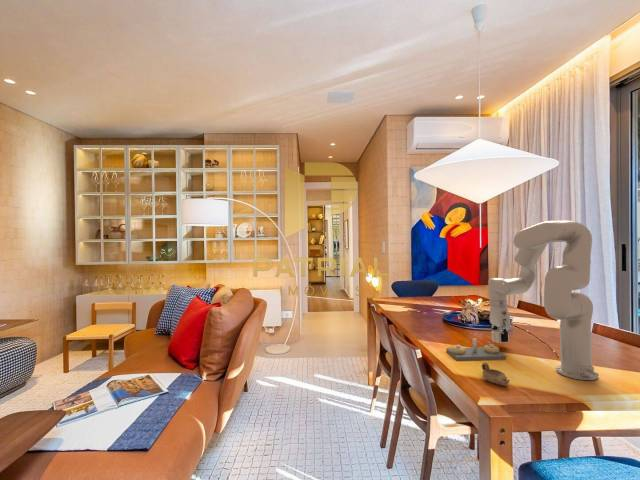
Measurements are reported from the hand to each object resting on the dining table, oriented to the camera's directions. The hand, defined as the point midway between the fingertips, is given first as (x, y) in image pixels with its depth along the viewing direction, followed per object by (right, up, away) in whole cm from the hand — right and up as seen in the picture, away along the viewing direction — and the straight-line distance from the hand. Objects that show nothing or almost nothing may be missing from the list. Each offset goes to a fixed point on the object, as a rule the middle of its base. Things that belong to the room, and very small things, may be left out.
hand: (500, 339), depth 158 cm
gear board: (-17, -5, -9) cm, 20 cm away
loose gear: (0, -1, 0) cm, 1 cm away
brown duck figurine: (-23, -5, -36) cm, 43 cm away
